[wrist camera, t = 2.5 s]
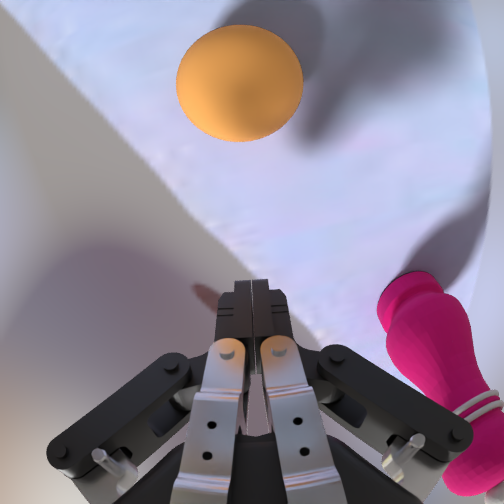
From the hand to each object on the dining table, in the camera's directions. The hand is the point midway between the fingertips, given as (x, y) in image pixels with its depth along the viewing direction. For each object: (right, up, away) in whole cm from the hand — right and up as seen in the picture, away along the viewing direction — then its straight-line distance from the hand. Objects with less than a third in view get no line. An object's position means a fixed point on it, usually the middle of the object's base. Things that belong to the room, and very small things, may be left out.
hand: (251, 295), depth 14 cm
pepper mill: (+14, -2, +10) cm, 17 cm away
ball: (-1, +10, -1) cm, 10 cm away
